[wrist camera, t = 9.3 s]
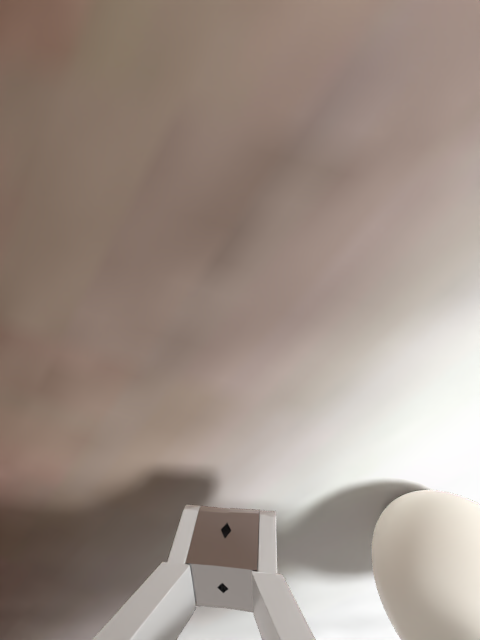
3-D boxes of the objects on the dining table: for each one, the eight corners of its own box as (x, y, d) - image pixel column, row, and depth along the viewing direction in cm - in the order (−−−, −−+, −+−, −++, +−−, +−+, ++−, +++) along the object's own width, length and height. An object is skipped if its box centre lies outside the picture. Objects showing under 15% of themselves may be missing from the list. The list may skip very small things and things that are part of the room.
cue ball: (742, 796, 6) (560, 487, 9) (493, 789, 5) (403, 474, 9) (507, 679, 10) (444, 500, 13) (363, 671, 10) (337, 491, 13)
